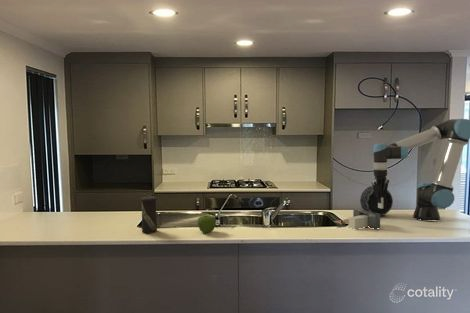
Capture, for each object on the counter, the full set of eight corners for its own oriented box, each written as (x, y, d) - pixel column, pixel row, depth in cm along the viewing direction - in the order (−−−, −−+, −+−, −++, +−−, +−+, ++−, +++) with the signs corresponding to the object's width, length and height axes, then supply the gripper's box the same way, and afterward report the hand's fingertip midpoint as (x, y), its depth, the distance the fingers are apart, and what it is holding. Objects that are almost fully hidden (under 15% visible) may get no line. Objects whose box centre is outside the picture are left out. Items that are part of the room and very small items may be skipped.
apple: (211, 236, 198) (211, 218, 197) (194, 234, 201) (193, 216, 200) (219, 230, 208) (219, 213, 207) (202, 229, 211) (202, 212, 211)
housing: (357, 222, 225) (358, 208, 224) (380, 229, 210) (380, 214, 209) (353, 223, 223) (353, 209, 222) (375, 230, 208) (375, 214, 208)
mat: (357, 218, 236) (357, 217, 236) (368, 221, 228) (368, 220, 228) (333, 221, 227) (333, 221, 227) (344, 225, 219) (344, 224, 219)
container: (138, 232, 204) (137, 197, 203) (147, 228, 212) (146, 194, 211) (151, 234, 201) (150, 198, 200) (160, 230, 210) (159, 195, 208)
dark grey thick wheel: (357, 214, 247) (358, 184, 245) (385, 213, 249) (386, 184, 248) (365, 218, 236) (365, 187, 235) (394, 217, 238) (395, 186, 237)
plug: (369, 224, 222) (369, 212, 221) (377, 226, 217) (377, 214, 216) (347, 228, 213) (348, 216, 212) (355, 230, 208) (355, 218, 207)
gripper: (382, 167, 225) (383, 205, 227) (367, 169, 219) (368, 208, 221) (393, 168, 219) (393, 207, 220) (377, 170, 213) (378, 210, 214)
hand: (380, 207), depth 221 cm, fingers closed
